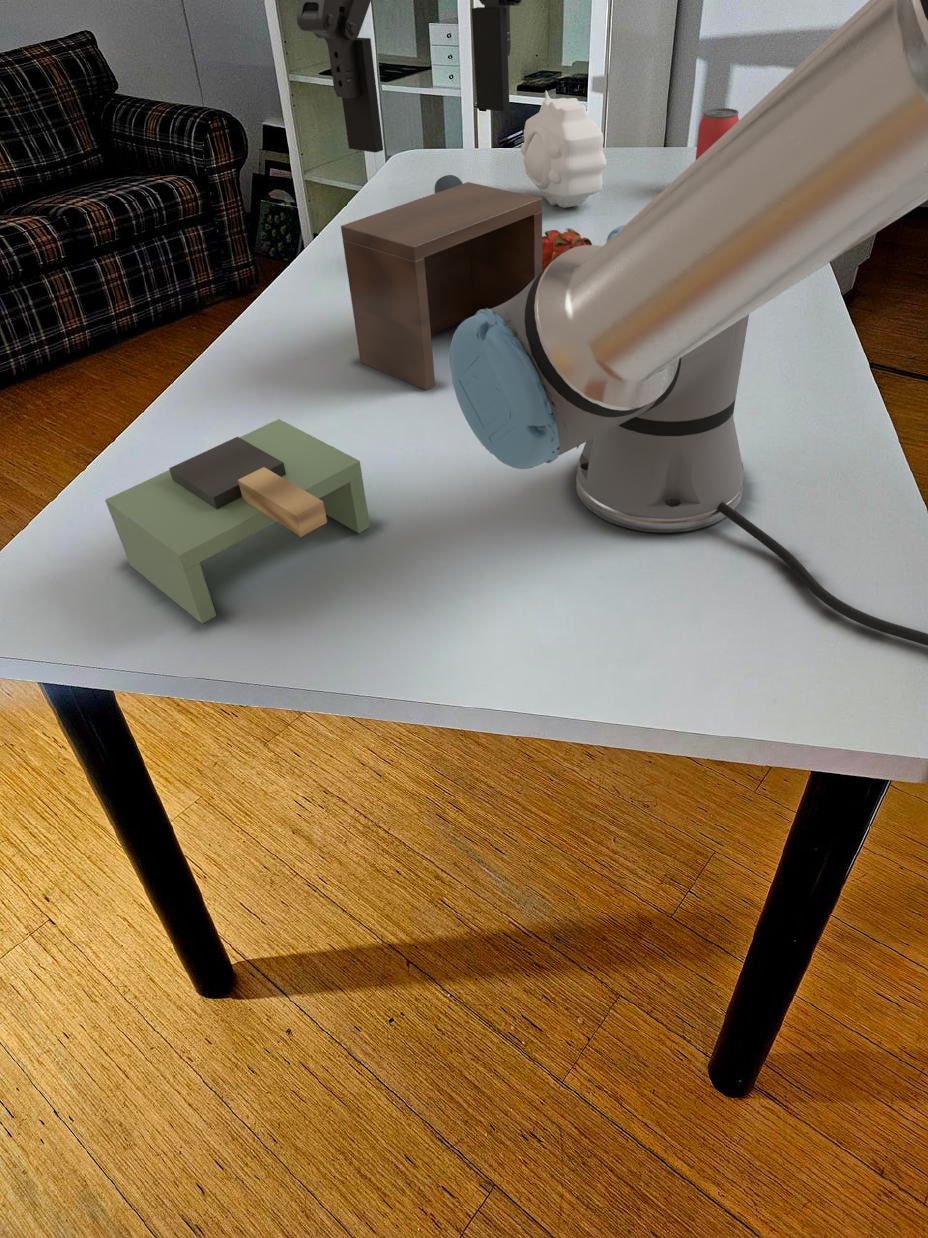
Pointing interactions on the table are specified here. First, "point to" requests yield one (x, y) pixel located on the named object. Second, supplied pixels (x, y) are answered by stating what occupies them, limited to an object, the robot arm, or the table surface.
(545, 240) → the dragon fruit
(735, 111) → the beer can
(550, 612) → the table surface
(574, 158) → the white ridged figurine
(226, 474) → the wood-handled square paddle
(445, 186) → the paintbrush
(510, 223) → the wooden side table
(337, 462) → the low shelf
